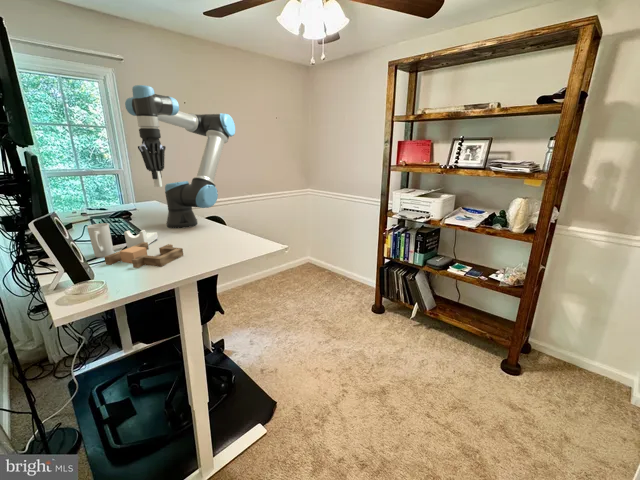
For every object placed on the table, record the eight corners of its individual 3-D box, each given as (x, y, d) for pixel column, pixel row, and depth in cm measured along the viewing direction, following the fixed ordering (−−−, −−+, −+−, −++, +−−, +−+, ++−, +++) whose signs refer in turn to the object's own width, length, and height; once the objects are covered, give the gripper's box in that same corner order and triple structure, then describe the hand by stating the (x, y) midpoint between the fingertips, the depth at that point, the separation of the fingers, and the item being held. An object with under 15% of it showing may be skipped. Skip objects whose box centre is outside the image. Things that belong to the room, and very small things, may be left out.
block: (135, 257, 117) (133, 246, 116) (148, 258, 115) (146, 247, 114) (122, 262, 112) (119, 251, 110) (134, 264, 110) (132, 252, 109)
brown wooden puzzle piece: (144, 248, 126) (143, 242, 125) (188, 252, 121) (187, 245, 120) (106, 264, 109) (104, 256, 108) (154, 270, 104) (153, 262, 103)
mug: (97, 253, 121) (90, 224, 117) (116, 251, 123) (110, 222, 120) (89, 261, 112) (81, 230, 109) (110, 259, 114) (103, 228, 111)
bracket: (145, 248, 127) (142, 231, 124) (127, 249, 126) (124, 232, 124) (158, 239, 139) (155, 223, 137) (141, 240, 138) (138, 224, 136)
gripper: (153, 129, 129) (162, 184, 136) (128, 127, 117) (139, 188, 124) (168, 128, 128) (176, 185, 135) (144, 127, 115) (154, 188, 123)
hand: (158, 186), depth 129 cm, fingers closed
